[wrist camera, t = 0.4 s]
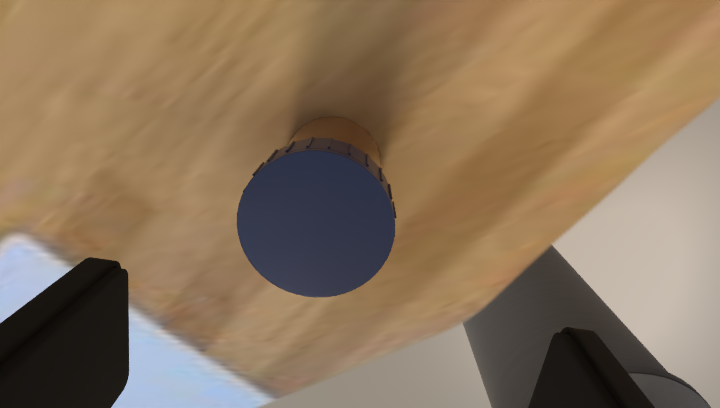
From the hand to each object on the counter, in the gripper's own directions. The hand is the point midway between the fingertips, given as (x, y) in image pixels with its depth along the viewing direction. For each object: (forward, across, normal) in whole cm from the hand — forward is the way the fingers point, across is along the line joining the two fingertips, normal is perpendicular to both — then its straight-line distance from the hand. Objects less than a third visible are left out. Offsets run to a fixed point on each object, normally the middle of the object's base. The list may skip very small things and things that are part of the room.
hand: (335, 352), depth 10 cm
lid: (+10, +1, +1) cm, 11 cm away
